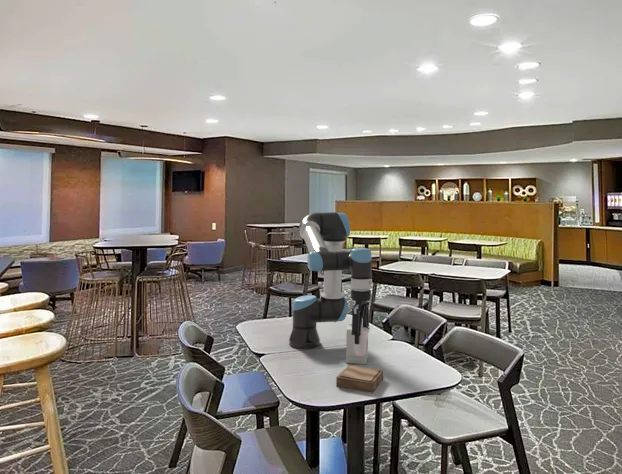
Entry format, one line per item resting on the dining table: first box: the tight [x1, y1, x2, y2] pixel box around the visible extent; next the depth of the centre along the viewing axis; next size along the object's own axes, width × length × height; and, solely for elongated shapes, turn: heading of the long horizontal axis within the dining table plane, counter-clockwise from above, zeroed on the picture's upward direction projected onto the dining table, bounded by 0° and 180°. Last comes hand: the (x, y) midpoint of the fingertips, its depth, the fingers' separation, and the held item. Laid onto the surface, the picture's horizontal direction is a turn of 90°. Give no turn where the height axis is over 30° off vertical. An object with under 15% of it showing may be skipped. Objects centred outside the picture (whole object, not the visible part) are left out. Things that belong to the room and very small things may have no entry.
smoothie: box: [353, 318, 370, 356], centre depth 165 cm, size 6×6×14 cm
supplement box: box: [345, 323, 369, 365], centre depth 191 cm, size 9×9×15 cm
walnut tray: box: [335, 364, 384, 394], centre depth 167 cm, size 14×14×4 cm
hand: (360, 349), depth 166 cm, fingers closed on smoothie, 6 cm apart
